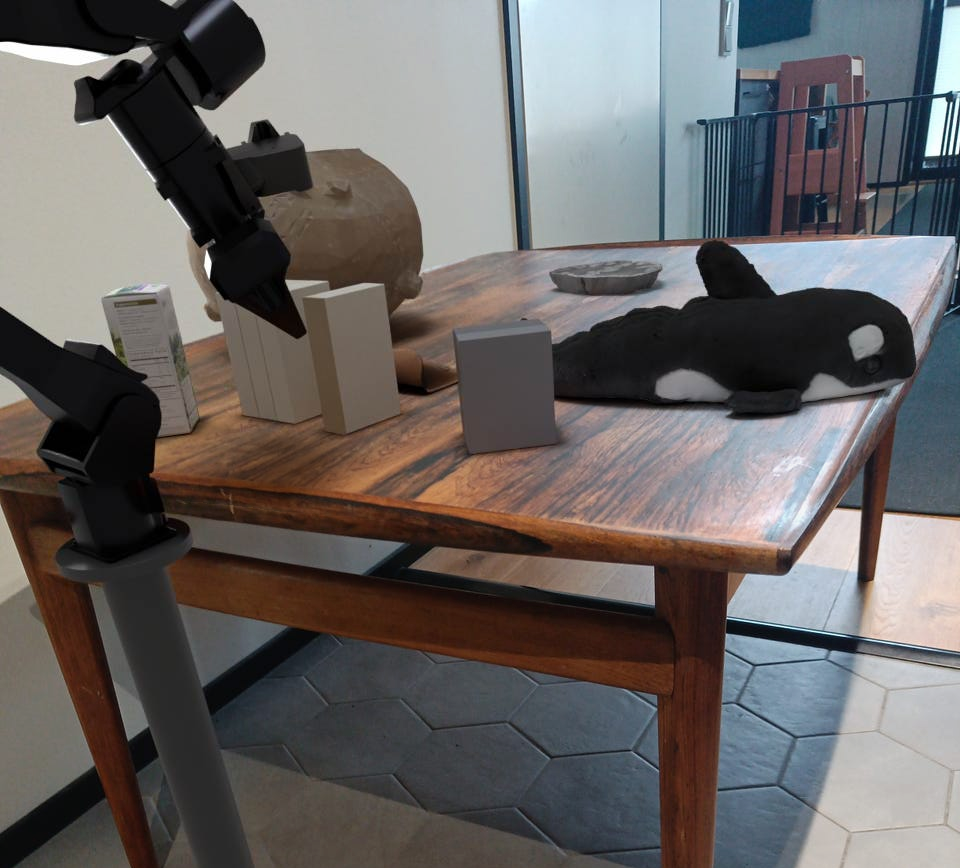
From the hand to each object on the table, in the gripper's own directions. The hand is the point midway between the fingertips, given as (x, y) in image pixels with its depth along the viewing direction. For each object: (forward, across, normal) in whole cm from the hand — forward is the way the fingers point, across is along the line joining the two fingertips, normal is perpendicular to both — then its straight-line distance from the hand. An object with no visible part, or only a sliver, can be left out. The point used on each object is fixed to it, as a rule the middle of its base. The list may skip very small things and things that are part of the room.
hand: (292, 316), depth 79 cm
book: (+15, +4, 0) cm, 16 cm away
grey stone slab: (+50, +59, -44) cm, 89 cm away
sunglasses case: (+21, +20, -4) cm, 29 cm away
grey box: (+17, -10, -11) cm, 22 cm away
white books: (+14, +14, +6) cm, 21 cm away
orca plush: (+28, -4, -31) cm, 42 cm away
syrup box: (+9, +15, +19) cm, 26 cm away
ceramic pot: (+26, +53, +1) cm, 59 cm away
